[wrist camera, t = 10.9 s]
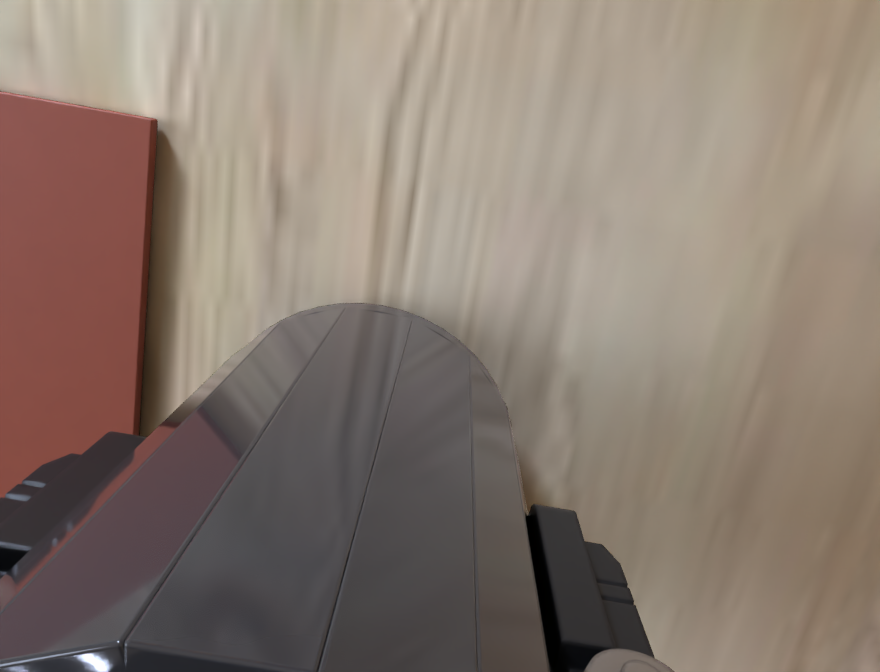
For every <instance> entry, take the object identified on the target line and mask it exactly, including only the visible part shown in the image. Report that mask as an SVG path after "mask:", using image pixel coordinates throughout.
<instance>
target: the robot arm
mask: <svg viewBox="0 0 880 672" xmlns="http://www.w3.org/2000/svg"><path fill="white" fill-rule="evenodd" d="M146 438H147V437H144V436H138V435H132V434H126V433H120V432H114V431H110V432H108V433H106V434H105V435H104V436H103V437H102V438H100V439H99V440H98V441H97V442H96V443H95V444H93V445H92V446H91V447H90V448H89V449H87V450H86V451H85V452H84V453H83V454H82V455H79V454H73V453H71V454H69V455H66V456H63V457H61V458H58V459H56V460H53V461H51V462H48V463H46V464H43V465H41V466H40V467H39V468H38V469H36V470H35V471H34V472H33V473H31V474H30V475H29V476H28V477H26V478H25V479H24V480H23V481H22V484H17V485H16V486H15V487H14V488H12V489H11V490H10V491H9V492H7V493H6V495H5V498H3V497H1V498H0V579H1V578H2V577H3V576H4V575H5V574H6V573H7V572H8V571H9V570H10V569H11V568H12V567H13V566H14V565H15V564H16V563H17V562H18V561H20V560H21V559H22V558H23V557H24V556H25V555H26V554H27V553H28V552H29V551H30V550H31V549H32V548H33V547H34V546H35V545H36V544H37V543H38V542H39V541H40V540H41V539H42V538H43V537H44V536H45V535H46V534H47V533H49V532H50V531H51V530H52V529H53V528H54V527H55V526H56V525H57V524H58V523H59V522H60V521H61V520H62V519H63V518H64V517H65V516H66V515H67V514H68V513H69V512H70V511H71V510H72V509H73V508H74V507H75V506H76V505H78V504H79V503H80V502H81V501H82V500H83V499H84V498H85V497H86V496H87V495H88V494H89V493H90V492H91V491H92V490H93V489H94V488H95V487H96V486H97V485H98V484H99V483H100V482H101V481H102V480H103V479H104V478H105V477H107V476H108V475H109V474H110V473H111V472H112V471H113V470H114V469H115V468H116V467H117V466H118V465H119V464H120V463H121V462H122V461H123V460H124V459H125V458H126V457H127V456H128V455H129V454H130V453H131V452H132V451H133V450H135V449H136V448H137V447H138V446H139V445H140V444H141V443H142V442H143V441H144V440H145V439H146ZM528 518H529V524H530V530H531V536H532V541H533V547H534V553H535V559H536V565H537V571H538V576H539V582H540V588H541V594H542V600H543V606H544V611H545V617H546V623H547V629H548V635H549V641H550V647H551V652H552V658H553V664H554V670H555V672H674V671H673V670H672V669H671V668H670V667H668V666H667V665H665V664H664V663H662V662H660V661H659V660H657V659H655V658H654V655H653V652H652V649H651V647H650V644H649V641H648V638H647V636H646V633H645V630H644V628H643V625H642V622H641V619H640V617H639V614H638V611H637V608H636V606H635V605H633V603H634V600H633V598H632V595H631V592H630V589H629V588H627V585H628V584H627V581H626V578H625V576H624V573H623V570H622V567H621V565H620V563H619V562H618V561H617V560H616V559H615V558H614V557H613V556H612V555H611V554H610V552H609V551H608V550H607V549H606V548H605V547H604V546H603V545H602V544H597V543H591V542H585V541H584V538H583V534H582V531H581V528H580V524H579V521H578V518H577V514H576V512H575V511H571V510H566V509H560V508H554V507H548V506H542V505H536V504H533V505H532V507H531V509H530V511H529V515H528Z"/></svg>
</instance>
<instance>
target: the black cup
mask: <svg viewBox="0 0 880 672" xmlns="http://www.w3.org/2000/svg"><path fill="white" fill-rule="evenodd" d="M0 672H555V670H554V664H553V658H552V652H551V647H550V641H549V635H548V629H547V623H546V617H545V611H544V606H543V600H542V594H541V588H540V582H539V576H538V571H537V565H536V559H535V553H534V547H533V541H532V536H531V530H530V524H529V518H528V512H527V506H526V501H525V495H524V489H523V483H522V477H521V471H520V465H519V460H518V455H517V451H516V446H515V441H514V437H513V431H512V425H511V421H510V417H509V413H508V408H507V406H506V403H505V402H504V400H503V397H502V395H501V393H500V391H499V388H498V386H497V385H496V383H495V382H494V380H493V378H492V377H491V375H490V373H489V372H488V370H487V369H486V368H485V367H484V365H483V364H482V363H481V362H480V361H479V359H478V358H477V357H476V356H475V354H474V353H472V352H471V351H470V350H469V349H468V348H467V347H466V346H465V345H464V344H463V343H462V342H461V341H460V340H458V339H457V338H455V337H454V336H453V335H451V334H450V333H448V332H447V331H446V330H444V329H443V328H441V327H439V326H437V325H435V324H434V323H432V322H430V321H428V320H426V319H424V318H422V317H419V316H417V315H414V314H411V313H409V312H406V311H403V310H399V309H395V308H391V307H387V306H383V305H374V304H365V303H340V304H333V305H326V306H320V307H316V308H312V309H309V310H305V311H302V312H299V313H296V314H294V315H292V316H290V317H287V318H285V319H283V320H280V321H279V322H277V323H276V324H274V325H272V326H271V327H269V328H267V329H266V330H264V331H263V332H261V333H260V334H259V335H258V336H257V337H255V338H254V339H253V340H252V341H250V342H249V343H248V344H247V345H246V346H245V347H243V348H242V349H240V350H239V351H238V352H236V353H235V354H233V355H232V356H231V357H230V358H229V359H228V360H227V361H226V362H225V363H224V364H223V365H222V366H220V367H219V368H218V369H217V370H216V371H215V372H214V373H213V374H212V375H211V376H210V377H209V378H208V379H207V380H206V381H205V382H204V383H203V384H202V385H201V386H200V387H199V388H198V389H197V390H196V391H195V392H194V393H193V394H191V395H190V396H189V397H188V398H187V399H186V400H185V401H184V402H183V403H182V404H181V405H180V406H179V407H178V408H177V409H176V410H175V411H174V412H173V413H172V414H171V415H170V416H169V417H168V418H167V419H166V420H165V421H164V422H162V423H161V424H160V425H159V426H158V427H157V428H156V429H155V430H154V431H153V432H152V433H151V434H150V435H149V436H148V437H147V438H146V439H145V440H144V441H143V442H142V443H141V444H140V445H139V446H138V447H137V448H136V449H135V450H133V451H132V452H131V453H130V454H129V455H128V456H127V457H126V458H125V459H124V460H123V461H122V462H121V463H120V464H119V465H118V466H117V467H116V468H115V469H114V470H113V471H112V472H111V473H110V474H109V475H108V476H107V477H105V478H104V479H103V480H102V481H101V482H100V483H99V484H98V485H97V486H96V487H95V488H94V489H93V490H92V491H91V492H90V493H89V494H88V495H87V496H86V497H85V498H84V499H83V500H82V501H81V502H80V503H79V504H78V505H76V506H75V507H74V508H73V509H72V510H71V511H70V512H69V513H68V514H67V515H66V516H65V517H64V518H63V519H62V520H61V521H60V522H59V523H58V524H57V525H56V526H55V527H54V528H53V529H52V530H51V531H50V532H49V533H47V534H46V535H45V536H44V537H43V538H42V539H41V540H40V541H39V542H38V543H37V544H36V545H35V546H34V547H33V548H32V549H31V550H30V551H29V552H28V553H27V554H26V555H25V556H24V557H23V558H22V559H21V560H20V561H18V562H17V563H16V564H15V565H14V566H13V567H12V568H11V569H10V570H9V571H8V572H7V573H6V574H5V575H4V576H3V577H2V578H1V579H0Z"/></svg>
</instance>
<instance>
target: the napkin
mask: <svg viewBox="0 0 880 672" xmlns="http://www.w3.org/2000/svg"><path fill="white" fill-rule="evenodd" d="M157 122H158V121H157V119H153V118H148V117H142V116H136V115H131V114H125V113H119V112H114V111H108V110H103V109H97V108H91V107H86V106H80V105H75V104H69V103H63V102H58V101H52V100H46V99H41V98H35V97H30V96H24V95H18V94H13V93H7V92H1V91H0V498H1V497H3V498H5V495H6V493H7V492H9V491H10V490H11V489H12V488H14V487H15V486H16V485H17V484H22V481H23V480H24V479H25V478H26V477H28V476H29V475H30V474H31V473H33V472H34V471H35V470H36V469H38V468H39V467H40V466H41V465H43V464H46V463H48V462H51V461H53V460H56V459H58V458H61V457H63V456H66V455H69V454H71V453H73V454H79V455H82V454H83V453H84V452H85V451H86V450H87V449H89V448H90V447H91V446H92V445H93V444H95V443H96V442H97V441H98V440H99V439H100V438H102V437H103V436H104V435H105V434H106V433H108V432H110V431H114V432H120V433H126V434H132V435H138V436H139V424H140V407H141V391H142V374H143V357H144V340H145V324H146V307H147V290H148V273H149V256H150V240H151V223H152V206H153V189H154V172H155V156H156V139H157Z"/></svg>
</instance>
